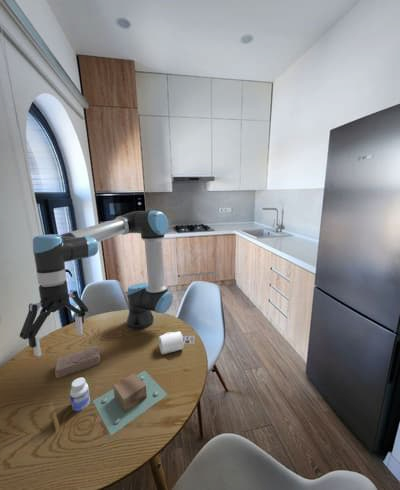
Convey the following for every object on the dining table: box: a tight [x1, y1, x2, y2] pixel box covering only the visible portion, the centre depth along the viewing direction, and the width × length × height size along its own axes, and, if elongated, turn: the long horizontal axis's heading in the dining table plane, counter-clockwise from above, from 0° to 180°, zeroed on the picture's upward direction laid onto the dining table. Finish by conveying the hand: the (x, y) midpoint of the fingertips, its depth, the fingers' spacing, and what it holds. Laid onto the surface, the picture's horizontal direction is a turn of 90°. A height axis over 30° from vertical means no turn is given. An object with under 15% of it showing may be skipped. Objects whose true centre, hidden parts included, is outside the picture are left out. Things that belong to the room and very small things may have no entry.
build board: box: [92, 370, 168, 437], centre depth 75 cm, size 20×16×2 cm
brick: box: [54, 345, 102, 379], centre depth 93 cm, size 17×8×5 cm, turn 119°
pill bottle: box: [69, 376, 91, 412], centre depth 73 cm, size 5×5×10 cm
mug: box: [158, 331, 185, 355], centre depth 103 cm, size 12×10×8 cm
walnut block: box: [113, 372, 147, 413], centre depth 75 cm, size 8×8×5 cm
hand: (60, 343), depth 73 cm, fingers open, 13 cm apart
